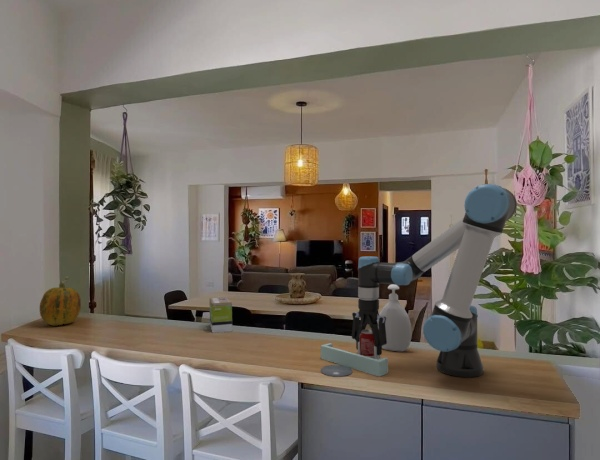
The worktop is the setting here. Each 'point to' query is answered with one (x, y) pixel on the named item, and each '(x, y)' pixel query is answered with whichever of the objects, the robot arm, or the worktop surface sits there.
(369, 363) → the divider
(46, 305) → the pumpkin
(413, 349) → the worktop surface
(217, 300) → the tea box
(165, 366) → the worktop surface
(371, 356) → the soda can
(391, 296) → the soap bottle
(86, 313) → the worktop surface
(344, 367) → the coaster
